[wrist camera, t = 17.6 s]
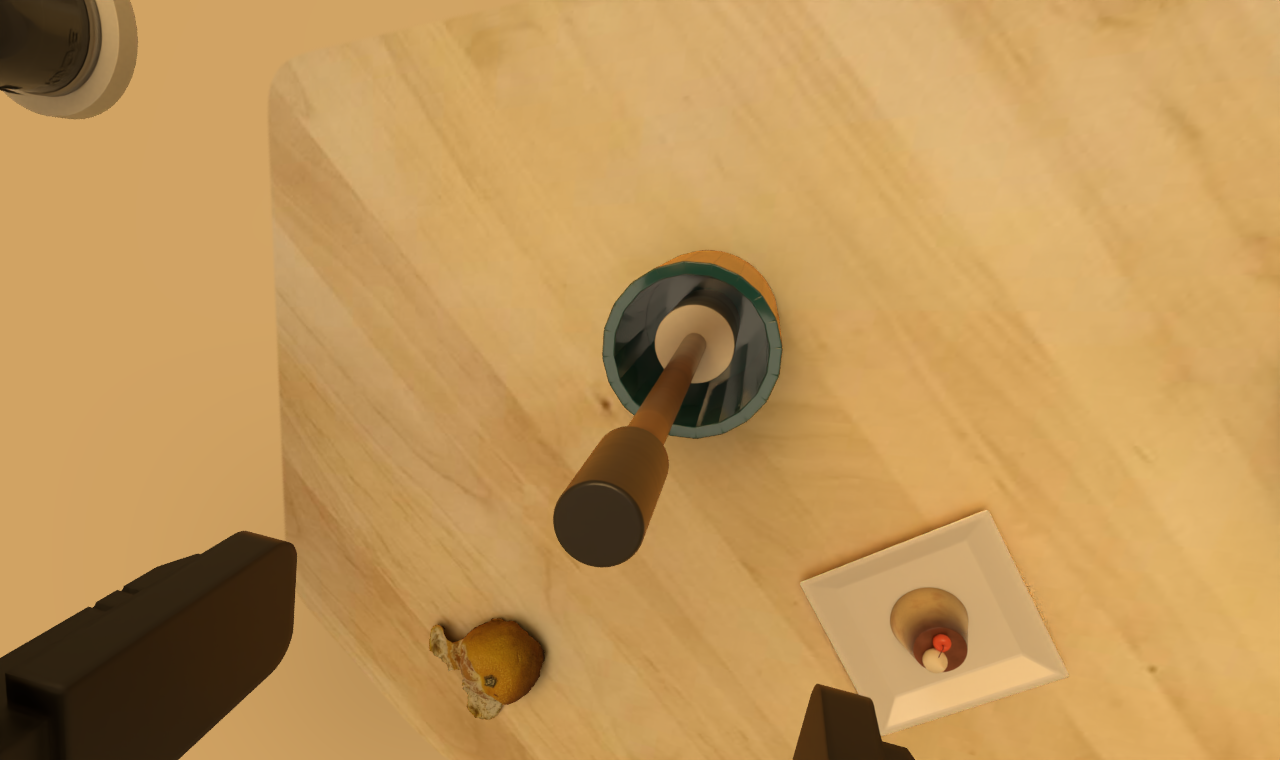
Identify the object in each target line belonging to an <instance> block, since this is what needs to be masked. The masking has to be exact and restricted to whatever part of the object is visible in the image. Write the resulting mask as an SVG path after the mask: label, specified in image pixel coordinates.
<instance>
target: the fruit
mask: <svg viewBox="0 0 1280 760" xmlns="http://www.w3.org/2000/svg"><path fill="white" fill-rule="evenodd" d="M443 629H444V627H443V626H441V625H439V624H438V625H435V626H433V628H432V629H431V634H430V640H429V649H430V651H431V652H433V654H434V656H437V657H439V658H441V659H442V661H443V662H444V663H446V664H447V666H448V671H451V670H455V669H458V670H461V672H462V675H463V681H462V682H463V683H462V686H463V689H464V690H465V691H466V692H467V694H468V704H467V708H468V709H469V711H470V712H471V713H472V714H473V715H474V717H475V718H480V719H487V720H490V719H492V718H494V717H495V716H496V715H497V714H498V713H499V711H500V709H501V708H502V705H503V704H504V705H506V704H507V705H508V704H511V703H513V702H516V701H517V700H519V699H520V698H522V697H523V696H525V695H526V694H527V693H528V692H529V691H530V690H531V688H532V687H533V686H534V684H535V683H536V681H537V680H538V678H539V677H540V669H541V667H542V664H543V662H544V659H545V652H544V650H543V649H542V647H541V646H540V644H539V643H538V641H535V640H534V639H533V638H532V637H531V636H529V635H528V632H527V631H524V630H523V629H522V628H521V627H520V626H519V624H517V623H516V622H515V621H504V620H503V619H501V618H497V619H493V618H492V619H491V621H489V622H487V623H484V624H482V625H479V626H478V627H475V628H474V629H473V630H472V631H471V632H470V633H468V634H467V636H466V637H465V638H464V639H461V640H459V641H457V642H454V643H451V642H450V641H448V640H447V639H446V637H445V636H444V631H443Z"/></svg>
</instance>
